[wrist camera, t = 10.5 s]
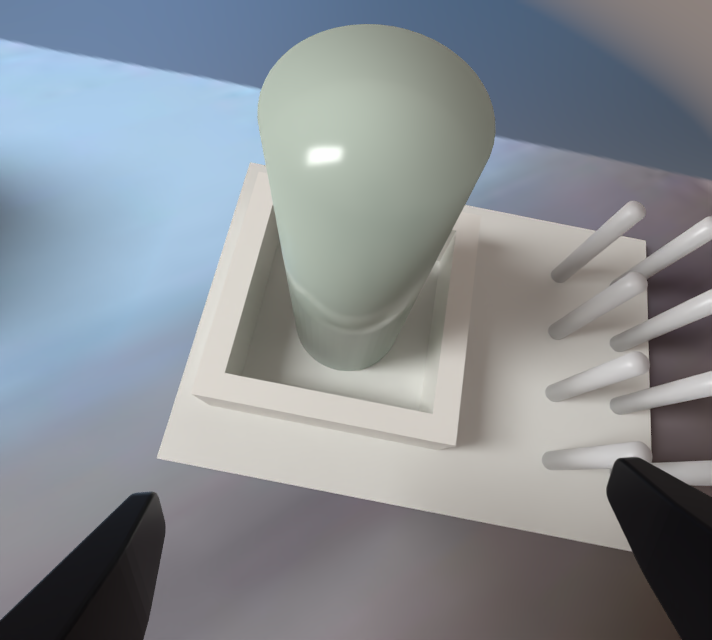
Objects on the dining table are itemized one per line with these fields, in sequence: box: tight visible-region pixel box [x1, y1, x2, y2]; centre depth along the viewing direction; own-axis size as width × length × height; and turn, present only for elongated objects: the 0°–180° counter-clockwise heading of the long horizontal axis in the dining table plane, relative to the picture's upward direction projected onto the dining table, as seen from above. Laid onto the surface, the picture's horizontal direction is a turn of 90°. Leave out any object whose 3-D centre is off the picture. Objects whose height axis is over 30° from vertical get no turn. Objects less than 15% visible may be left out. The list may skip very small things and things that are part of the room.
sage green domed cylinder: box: [258, 24, 495, 371], centre depth 15 cm, size 5×5×13 cm
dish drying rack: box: [157, 163, 712, 552], centre depth 19 cm, size 21×15×7 cm
